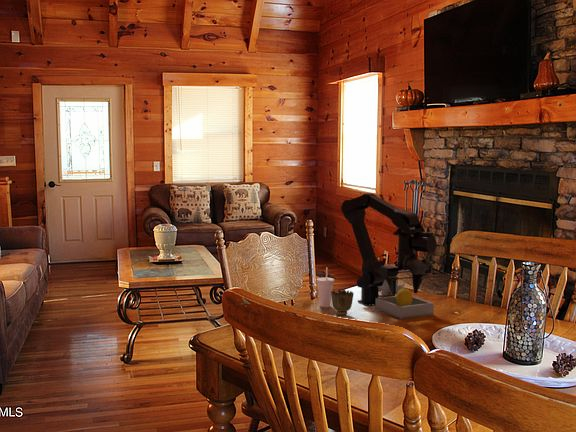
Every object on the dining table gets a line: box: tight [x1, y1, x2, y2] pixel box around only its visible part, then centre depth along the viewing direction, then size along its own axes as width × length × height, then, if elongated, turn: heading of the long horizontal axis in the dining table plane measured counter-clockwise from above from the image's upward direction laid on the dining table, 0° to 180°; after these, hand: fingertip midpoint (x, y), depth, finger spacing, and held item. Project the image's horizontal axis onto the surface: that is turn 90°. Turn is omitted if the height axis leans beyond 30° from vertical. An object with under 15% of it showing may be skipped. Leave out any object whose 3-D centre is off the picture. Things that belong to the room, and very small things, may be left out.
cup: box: [331, 289, 355, 317], centre depth 206 cm, size 8×7×8 cm
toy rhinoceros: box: [378, 279, 405, 297], centre depth 235 cm, size 7×12×8 cm, turn 50°
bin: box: [375, 295, 435, 320], centre depth 212 cm, size 14×14×4 cm
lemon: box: [395, 287, 413, 306], centre depth 211 cm, size 6×6×8 cm
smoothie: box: [316, 267, 335, 308], centre depth 218 cm, size 6×6×14 cm
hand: (404, 294), depth 211 cm, fingers open, 9 cm apart
